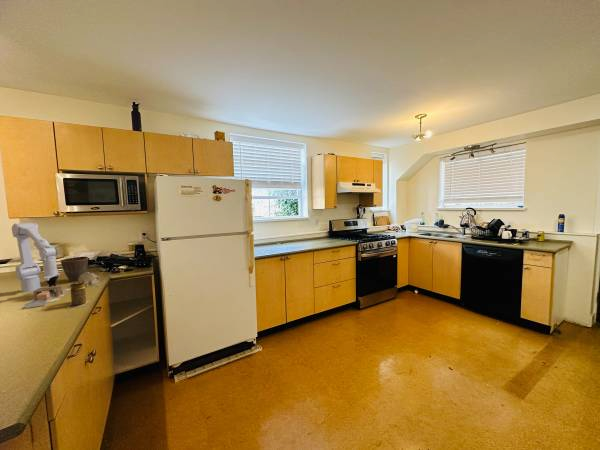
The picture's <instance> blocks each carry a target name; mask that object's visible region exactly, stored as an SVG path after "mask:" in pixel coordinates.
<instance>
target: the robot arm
mask: <svg viewBox="0 0 600 450" xmlns="http://www.w3.org/2000/svg"><path fill="white" fill-rule="evenodd" d="M11 232H12V236H13V237H12V238H16V241H17V245H18V246H17V247H18V253H19V259H20V262H21V263H20V264H18V265H17V266H16V267H15V272H14V274H15V277H16V279H18V280H20V287H21V292H22V293H27V292H34V291H35V290H37V289H38V288H44V287H42V286H41V280H40V277H39V276H40V275H41V271H42V270H43V274H44V275H43V281H44V282H46V283H47V284H48V285H47V286H50V285H54V286H57V281H58V279H59V276H60V275H61V272H59V271H58V265H57V255H58V252H59V251H58V248H57V247H56V246H53V245H51V244H50V243H49V241H47V239H46V238H42V236H41V235H40V233H39V225H38V223H36V222H25V223H14V224H12V227H11ZM29 238H30V239H32V240H33V242H34V243H33V245H34V247H35V248H36V249H37V250H38V251H39V252H38V254H39V256H40V257H39V258H40V261H41V262H42V266H43V267H42V268H43V269H42V270H41V268H40V265H39V264H38V263H36V262H33V261H34V260H33V255H32V249H31V244H30V239H29Z"/></svg>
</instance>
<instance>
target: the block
mask: <svg viewBox="0 0 600 450" xmlns="http://www.w3.org/2000/svg"><path fill="white" fill-rule="evenodd" d="M44 292H45V293H40V294H38V295H37V300H42V299H48V298H49V297H50V292H46V291H44Z"/></svg>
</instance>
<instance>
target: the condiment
mask: <svg viewBox="0 0 600 450" xmlns="http://www.w3.org/2000/svg"><path fill="white" fill-rule="evenodd" d="M70 288H71V290H70V298H71V304H70V305H68V306H67V307H66V309H73V308H78V307H80V308H81V307H84V306H86V304H88V303H89V300H87V293H86V287H85V286H84V282H79V281H77V282H71V284H70Z"/></svg>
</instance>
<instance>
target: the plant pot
mask: <svg viewBox="0 0 600 450" xmlns="http://www.w3.org/2000/svg"><path fill="white" fill-rule="evenodd" d="M60 263H61V267H62V270H63V272H64V274H65V276H66V278H67V279H68V281H69V282H70V283H75V282H79V281H78V278H79V277H80V275H82V274H83V273H86V272H87V268H88V264H89V257H88V256H76V257H75V256H74V257H68V258H63V259H61V260H60Z"/></svg>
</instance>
